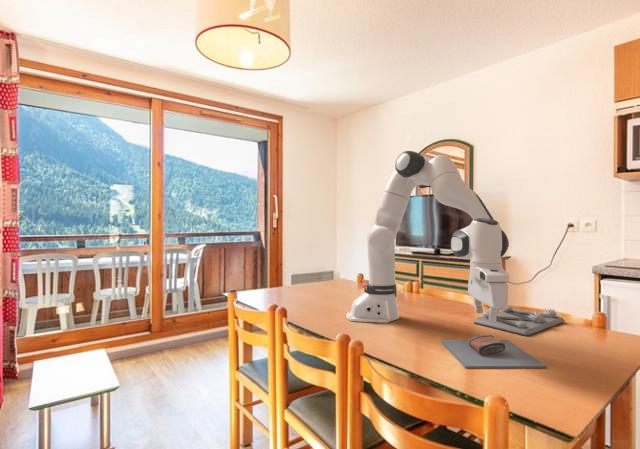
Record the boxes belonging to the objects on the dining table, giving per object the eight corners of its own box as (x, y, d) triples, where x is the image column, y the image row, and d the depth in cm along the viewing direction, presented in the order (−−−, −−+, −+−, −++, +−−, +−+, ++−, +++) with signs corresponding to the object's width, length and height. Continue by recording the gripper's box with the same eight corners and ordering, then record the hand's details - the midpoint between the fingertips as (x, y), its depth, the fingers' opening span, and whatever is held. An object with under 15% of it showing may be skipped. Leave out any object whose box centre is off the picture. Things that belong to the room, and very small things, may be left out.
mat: (465, 368, 99) (465, 366, 99) (440, 341, 121) (440, 340, 121) (546, 368, 98) (546, 365, 98) (507, 341, 120) (507, 339, 120)
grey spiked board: (511, 312, 159) (511, 296, 159) (565, 323, 141) (565, 305, 141) (471, 324, 142) (471, 306, 142) (527, 338, 125) (527, 318, 124)
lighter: (506, 351, 106) (491, 340, 116) (504, 340, 106) (489, 330, 116) (479, 357, 107) (466, 345, 117) (477, 346, 107) (464, 335, 117)
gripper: (463, 267, 120) (462, 308, 120) (489, 276, 99) (488, 326, 99) (482, 267, 120) (482, 308, 120) (512, 277, 99) (512, 326, 99)
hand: (485, 317), depth 109 cm, fingers open, 8 cm apart
